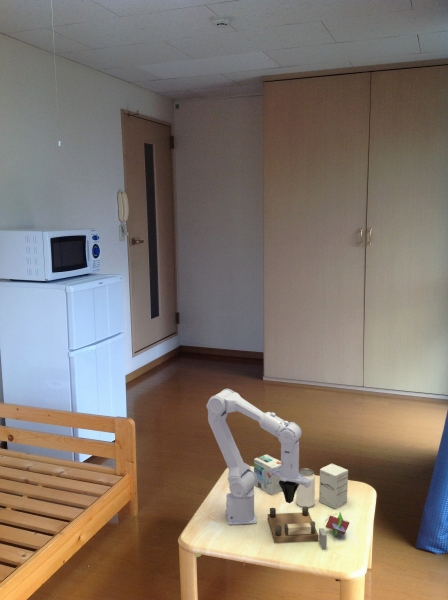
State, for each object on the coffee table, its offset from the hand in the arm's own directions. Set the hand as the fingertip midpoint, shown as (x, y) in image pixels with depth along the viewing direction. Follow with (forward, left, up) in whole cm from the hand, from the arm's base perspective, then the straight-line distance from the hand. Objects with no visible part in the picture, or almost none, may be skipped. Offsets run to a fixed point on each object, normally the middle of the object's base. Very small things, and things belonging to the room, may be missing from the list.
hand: (289, 501), depth 182 cm
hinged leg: (+2, -6, -8) cm, 10 cm away
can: (+9, +17, -10) cm, 21 cm away
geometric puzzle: (+15, -3, -10) cm, 18 cm away
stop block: (+9, -9, -10) cm, 16 cm away
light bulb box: (-2, +30, -10) cm, 31 cm away
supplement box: (+19, +17, -10) cm, 27 cm away
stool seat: (+1, 0, -10) cm, 10 cm away
